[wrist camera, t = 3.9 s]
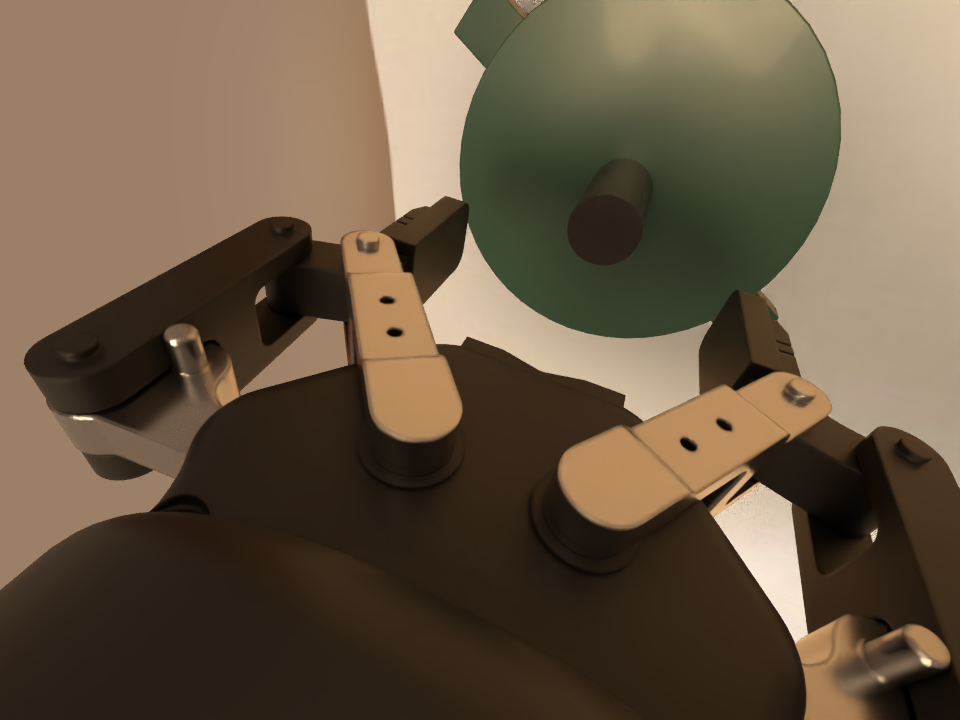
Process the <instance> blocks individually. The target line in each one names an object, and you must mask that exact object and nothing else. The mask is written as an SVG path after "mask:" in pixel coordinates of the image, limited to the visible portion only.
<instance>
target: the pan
mask: <svg viewBox="0 0 960 720" xmlns="http://www.w3.org/2000/svg"><path fill="white" fill-rule="evenodd" d="M526 16H527V14H526V13H525V12H524V11H523V10H522V9H521V7H520V6H519V5H518V4H517V3H516V2H515V0H473V1H472V3H471V4H470V6H469V8H468V9H467V11H466V13H465V14H464V16H463V18H462V19H461V21H460V22H459V24H458V26H457V27H456V29H455V31H454V33H455V34H456V35H457V37H458V38H459V39H460V40H461V41H462V42H463V43H464V44H465V46H466V47H467V48H468V49H469V50H470V51H471V52H472V53H473V55H474V56H475V57H476V58H477V59H478V60H479V61H480V62H481V64H482V65H483V66H484V67H485V68H487V66H488V65H489V63H490V61H491V60H492V58H493V57H494V55H495V53H496V52H497V50H498V49H499V47H500V46H501V45H502V44H503V42H504V41H505V40H506V38H507V37H508V36H509V35H510V33H511V32H512V31H513V30H514V28H515V27H516V26H517V25H518V24H519V23H520V22H521V21H522V20H523V19H524V18H525V17H526ZM755 295H756V296H759V297H762V298H765V300H766V303H767V307H768V311H769V315H770V318H771V319H772V320H777V319H778V314H777V311H776V308H775V307H774V306H773V304H772V303H771V302H770V301H769V300H768V299H767V297H766V296H765V295H764V294H763V293H762V292H761V290H760V291H758V292H757V293H756V294H755ZM715 319H716V318H715ZM715 319H713V320H711V321H712V323H713V322H714V320H715Z"/></svg>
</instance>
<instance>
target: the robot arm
mask: <svg viewBox="0 0 960 720" xmlns="http://www.w3.org/2000/svg"><path fill="white" fill-rule="evenodd" d="M468 217H469V204H468V203H466V202H463V201H460V200H457V199H454V198H450V197H447V196H445V197H443V198H442V199H440V200H439V201H438V202H436V203H435V204H434V205H432V206H431V207H427V206H424V207H420V208H416V209H412V210H411V211H409V212H408V213H407V214H405V215H404V216H403V217H401V218H399V219H398V220H397V221H396V222H394V223H392V224H391V225H389V226H388V227H387V228H385V229H384V230H382V231H381V232H375V231H365V230H363V231H354V232H350V233H348V234H346V235H344V236H343V237H342V238H341V244H333V243H326V242H321V241H314V240H312V231H311V227H310V225H309V224H308V223H306V222H305V221H303V220H300V219H297V218H292V217H271V218H266V219H263V220H261V221H259V222H257V223H255V224H253V225H251V226H249V227H247V228H246V229H244V230H242V231H240V232H238V233H236V234H235V235H233V236H231V237H229V238H227V239H225V240H224V241H222V242H220V243H218V244H216V245H214V246H213V247H211V248H209V249H207V250H205V251H203V252H202V253H200V254H198V255H196V256H194V257H192V258H190V259H189V260H187V261H185V262H183V263H181V264H179V265H177V266H176V267H174V268H172V269H170V270H168V271H167V272H165V273H163V274H161V275H159V276H157V277H156V278H154V279H152V280H150V281H148V282H146V283H144V284H143V285H141V286H139V287H137V288H135V289H133V290H131V291H130V292H128V293H126V294H124V295H122V296H120V297H119V298H117V299H115V300H113V301H111V302H109V303H107V304H106V305H104V306H102V307H100V308H98V309H96V310H95V311H93V312H91V313H89V314H87V315H85V316H84V317H82V318H80V319H78V320H76V321H74V322H73V323H71V324H69V325H67V326H65V327H63V328H61V329H60V330H58V331H56V332H54V333H52V334H50V335H48V336H47V337H45V338H43V339H42V340H40V341H38V342H37V343H36V344H34V345H33V346H32V347H31V348H30V349H29V350H28V352H27V353H26V355H25V358H24V365H25V367H26V369H27V371H28V372H29V374H30V375H31V377H32V378H33V380H34V381H35V383H36V384H37V386H38V387H39V389H40V390H41V392H42V393H43V395H44V396H45V398H46V402H47V405H48V407H49V409H50V410H51V411H52V413H53V415H54V416H55V417H56V419H57V421H58V422H59V424H60V425H61V426H62V428H63V429H64V431H65V432H66V434H67V435H68V437H69V438H70V440H71V441H72V443H73V444H74V446H75V447H76V448H77V449H79V450H80V451H81V452H82V453H83V455H84V456H85V458H86V459H87V461H88V462H89V464H90V465H91V467H92V468H93V470H94V471H95V472H96V474H98V475H99V476H101V477H103V478H105V479H109V480H127V479H133V478H136V477H140V476H142V475H145V474H147V473H149V472H151V471H153V470H155V471H158V472H160V473H163V474H165V475H168V476H170V477H173V478H175V480H174V482H173V483H172V485H171V487H170V488H169V490H168V491H167V492H166V494H165V495H164V496H163V498H162V499H161V500H160V502H159V503H158V504H157V505H156V506H155V507H154V508H153V509H152V510H151V511H150V512H146V513H136V514H130V515H124V516H120V517H116V518H112V519H109V520H106V521H102V522H99V523H96V524H93V525H91V526H89V527H87V528H84V529H82V530H80V531H78V532H76V533H74V534H73V535H71V536H69V537H68V538H66V539H65V540H63V541H61V542H60V543H58V544H57V545H55V546H53V547H52V548H51V549H49V550H48V551H47V552H46V553H44V554H43V555H42V556H41V557H40V558H39V559H37V560H36V561H35V562H33V564H31V565H30V566H29V567H27V568H26V569H25V570H24V571H23V572H22V573H21V574H19V575H18V576H17V577H16V578H14V579H13V580H12V581H11V582H10V583H9V584H7V585H6V586H5V587H4V588H2V589H1V590H0V720H960V489H959V487H958V485H957V483H956V480H955V478H954V476H953V474H952V472H951V470H950V468H949V467H948V465H947V463H946V462H945V461H944V459H943V458H942V457H941V456H940V455H939V454H938V453H937V452H936V451H935V450H934V449H932V448H931V447H930V446H929V445H927V444H926V443H924V442H923V441H921V440H920V439H918V438H916V437H915V436H913V435H911V434H909V433H907V432H904V431H902V430H899V429H896V428H892V427H886V426H882V427H878V428H876V429H875V430H874V431H872V432H871V433H870V434H869V435H868V436H867V437H864V436H862V435H860V434H858V433H856V432H854V431H853V430H851V429H849V428H847V427H845V426H843V425H842V424H840V423H838V422H836V421H835V420H833V419H831V418H830V417H828V415H829V414H830V413H831V412H832V404H831V402H830V400H829V399H828V397H827V396H826V395H825V394H824V393H823V392H822V391H821V390H820V389H819V388H818V387H816V386H815V385H813V384H812V383H810V382H809V381H807V380H805V379H803V378H801V375H800V372H799V368H798V365H797V362H796V359H795V357H794V352H793V349H792V347H791V342H790V339H789V335H788V333H787V332H786V331H785V330H784V329H783V327H782V326H781V325H780V324H779V323H778V322H777V321H775V320H772V319H771V318H770V315H769V311H768V307H767V303H766V300H765V298H762V297H759V296H756V295H753V294H749V293H746V292H743V291H740V290H735V291H734V292H733V293H732V294H731V295H730V297H729V298H728V300H727V301H726V303H725V304H724V306H723V308H722V309H721V311H720V312H719V314H718V315H717V317H716V319H715V320H714V322H713V323H712V325H711V327H710V328H709V330H708V331H707V333H706V335H705V337H704V338H703V341H702V343H701V346H700V349H699V387H700V395H699V396H697V397H695V398H693V399H691V400H688V401H686V402H684V403H682V404H680V405H678V406H676V407H674V408H671V409H669V410H667V411H665V412H663V413H661V414H659V415H657V416H655V417H652V418H650V419H648V420H646V421H644V422H643V421H642V420H641V419H640V418H638V417H637V416H636V415H634V414H633V413H631V412H630V411H629V410H627V409H625V408H624V401H625V395H623V394H620V393H618V392H615V391H612V390H610V389H607V388H604V387H601V386H599V385H596V384H593V383H591V382H588V381H585V380H581V379H576V378H570V377H565V376H560V375H555V374H550V373H545V372H542V371H539V370H537V369H535V368H534V367H532V366H530V365H529V364H527V363H525V362H523V361H522V360H520V359H518V358H517V357H515V356H513V355H511V354H510V353H508V352H506V351H505V350H502V349H499V348H497V347H494V346H491V345H489V344H486V343H483V342H481V341H478V340H475V339H472V338H470V337H467V338H466V339H465V341H464V342H463V344H462V345H461V346H457V345H449V344H436V343H435V340H434V337H433V334H432V331H431V328H430V325H429V322H428V319H427V316H426V313H425V310H424V307H423V304H424V303H425V302H426V301H427V300H428V299H429V298H430V296H431V295H432V294H433V293H434V292H435V291H436V290H437V289H438V288H439V287H440V286H441V285H442V283H443V282H444V281H445V280H446V279H447V278H448V277H449V276H450V275H451V274H452V273H453V272H454V270H455V269H456V268H457V267H458V265H459V263H460V260H461V257H462V254H463V249H464V242H465V236H466V230H467V223H468ZM263 286H265V290H266V296H267V297H266V298H264V299H263V300H262V301H260V302H259V303H258V304H256V305H255V300H256V296H257V294H258V292H259V291H260V289H261V288H262V287H263ZM317 318H323V319H330V320H337V321H344V333H345V342H346V350H347V359H348V366H344V367H341V368H337V369H333V370H330V371H326V372H322V373H319V374H315V375H312V376H308V377H304V378H300V379H296V380H293V381H289V382H285V383H282V384H278V385H274V386H271V387H267V388H263V389H260V390H256V391H253V392H250V393H247V394H245V395H242V396H240V391H241V390H242V389H243V388H244V387H245V386H246V385H247V384H248V383H249V382H251V381H252V380H253V379H254V378H255V377H256V376H257V375H258V374H259V373H260V372H261V371H262V370H263V369H265V367H267V366H268V365H269V364H270V363H271V362H272V361H273V360H274V359H275V358H276V357H277V356H279V355H280V354H281V353H282V352H283V351H284V350H285V349H286V348H287V347H288V346H289V345H290V344H292V343H293V342H294V341H295V340H296V339H297V338H298V337H299V336H300V335H301V334H302V333H303V332H304V331H305V330H306V329H308V328H309V327H310V326H311V325H312V324H313V323H314V322H315V321H316V320H317ZM760 483H762V484H763V485H765V486H766V487H768V488H770V489H771V490H773V491H774V492H776V493H777V494H779V495H781V496H782V497H784V498H785V499H787V500H788V501H790V502H792V515H793V523H794V531H795V538H796V546H797V554H798V562H799V569H800V577H801V585H802V592H803V600H804V608H805V615H806V623H807V631H808V635H807V636H805V637H803V638H801V639H800V640H799V641H798V642H797V643H796V644H795V642H794V640H793V638H792V636H791V634H790V632H789V630H788V628H787V626H786V624H785V623H784V621H783V620H782V618H781V616H780V615H779V613H778V612H777V610H776V609H775V607H774V606H773V604H772V603H771V601H770V600H769V599H768V597H767V596H766V594H765V593H764V591H763V590H762V588H761V587H760V585H759V584H758V582H757V581H756V579H755V578H754V577H753V575H752V574H751V572H750V571H749V569H748V568H747V566H746V565H745V563H744V562H743V560H742V559H741V557H740V556H739V555H738V553H737V552H736V550H735V549H734V547H733V546H732V544H731V543H730V541H729V540H728V538H727V537H726V535H725V534H724V532H723V531H722V530H721V528H720V527H719V525H718V524H717V522H716V521H715V519H714V517H715V516H716V515H718V514H719V513H720V512H722V511H723V510H725V509H726V508H727V507H729V506H730V505H732V504H733V503H734V502H736V501H737V500H739V499H740V498H741V497H743V496H744V495H746V494H747V493H748V492H750V491H751V490H753V489H754V488H755V487H757V486H758V485H759V484H760ZM877 528H878V532H877V536H876V539H875V541H874V543H873V542H872V538H871V535H870V533H871V532H873V531H874V530H876V529H877Z"/></svg>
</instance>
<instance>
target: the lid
mask: <svg viewBox="0 0 960 720" xmlns="http://www.w3.org/2000/svg"><path fill="white" fill-rule="evenodd" d="M840 142H841V108H840V103H839V97H838V91H837V86H836V80H835V77H834V74H833V71H832V69H831V66H830V63H829V60H828V57H827V55H826V52H825V50H824V48H823V46H822V45H821V43H820V41H819V40H818V38H817V36H816V34H815V33H814V31H813V29H812V27H811V26H810V24H809V23H808V22H807V21H806V20H805V18H804V17H803V16H802V15H801V14H800V13H799V12H798V10H797V9H796V8H795V7H794V6H793V5H792V3H791V2H790V1H789V0H545V1H544V2H542V3H541V4H540V5H538V6H537V7H536V8H535V9H534V10H533V11H532V12H531V13H530V14H528V15H527V16H526V17H525V18H524V19H523V20H522V21H521V22H520V23H519V24H518V25H517V26H516V27H515V28H514V30H513V31H512V32H511V33H510V35H509V36H508V37H507V38H506V40H505V41H504V42H503V44H502V45H501V46H500V47H499V49H498V50H497V52H496V53H495V55H494V57H493V58H492V60H491V61H490V63H489V65H488V66H487V68H486V70H485V71H484V73H483V75H482V78H481V80H480V82H479V84H478V86H477V89H476V91H475V93H474V95H473V98H472V101H471V104H470V108H469V111H468V114H467V117H466V121H465V126H464V131H463V136H462V141H461V154H460V185H461V192H462V199H463V202H466V203H468V204H469V217H468V224H469V227H470V229H471V232H472V234H473V237H474V239H475V242H476V244H477V246H478V248H479V250H480V251H481V253H482V255H483V257H484V259H485V261H486V262H487V263H488V265H489V266H490V268H491V269H492V271H493V272H494V273H495V275H496V276H497V277H498V278H499V280H500V281H501V282H502V283H503V284H504V285H505V286H506V287H507V289H508V290H510V291H511V292H512V293H513V294H514V295H515V296H516V297H517V298H518V299H520V300H521V301H522V302H523V303H525V304H526V305H527V306H529V307H530V308H532V309H533V310H534V311H536V312H537V313H539V314H541V315H543V316H545V317H546V318H548V319H550V320H552V321H554V322H556V323H559V324H561V325H563V326H566V327H568V328H571V329H574V330H578V331H581V332H584V333H588V334H594V335H599V336H604V337H616V338H646V337H654V336H661V335H667V334H671V333H675V332H679V331H683V330H687V329H690V328H693V327H695V326H698V325H701V324H704V323H707V322H709V321H711V320H713V319H715V318H716V317H717V315H718V314H719V312H720V311H721V309H722V308H723V306H724V304H725V303H726V301H727V300H728V298H729V297H730V295H731V294H732V293H733V292H734V291H735V290H740V291H743V292H746V293H749V294H753V295H755V294H756V293H757V292H758V291H760V290H761V289H762V288H763V287H765V286H766V285H767V284H768V283H769V282H770V281H771V280H772V279H773V278H774V277H775V276H776V275H777V274H778V273H779V272H780V271H781V270H782V269H783V268H784V267H785V266H786V265H787V264H788V263H789V261H790V260H791V259H792V258H793V256H794V255H795V254H796V253H797V251H798V250H799V249H800V248H801V246H802V245H803V244H804V242H805V240H806V239H807V237H808V235H809V234H810V232H811V230H812V229H813V227H814V226H815V224H816V222H817V220H818V218H819V216H820V214H821V211H822V209H823V207H824V205H825V202H826V200H827V198H828V196H829V193H830V189H831V186H832V182H833V179H834V175H835V172H836V169H837V163H838V156H839V149H840Z"/></svg>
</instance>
